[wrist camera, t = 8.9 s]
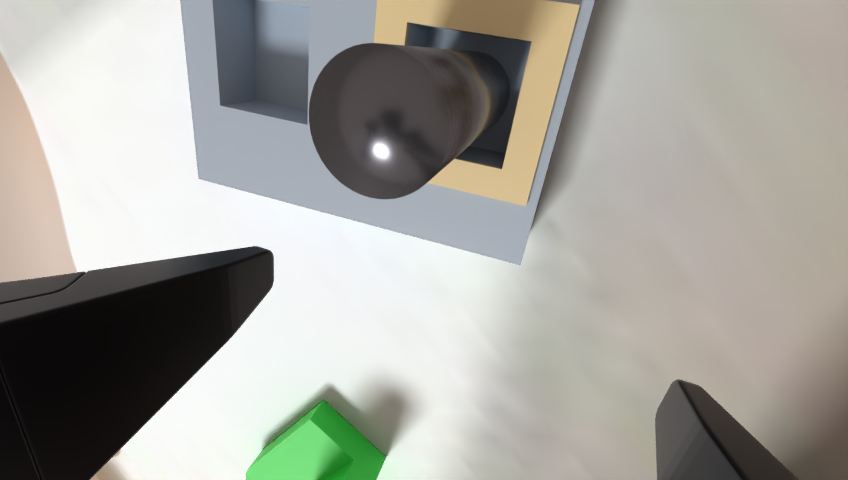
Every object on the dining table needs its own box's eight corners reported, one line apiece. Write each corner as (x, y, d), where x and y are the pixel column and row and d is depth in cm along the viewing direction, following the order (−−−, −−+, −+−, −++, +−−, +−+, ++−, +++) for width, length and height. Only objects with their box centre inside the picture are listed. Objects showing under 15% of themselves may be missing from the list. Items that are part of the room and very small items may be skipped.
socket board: (611, -69, 15) (622, -98, 12) (526, 237, 20) (519, 267, 17) (225, -106, 18) (162, -135, 15) (240, 164, 23) (195, 179, 20)
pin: (518, 58, 17) (462, 56, 8) (500, 138, 18) (435, 214, 9) (441, 45, 17) (310, 31, 8) (429, 124, 19) (307, 181, 10)
